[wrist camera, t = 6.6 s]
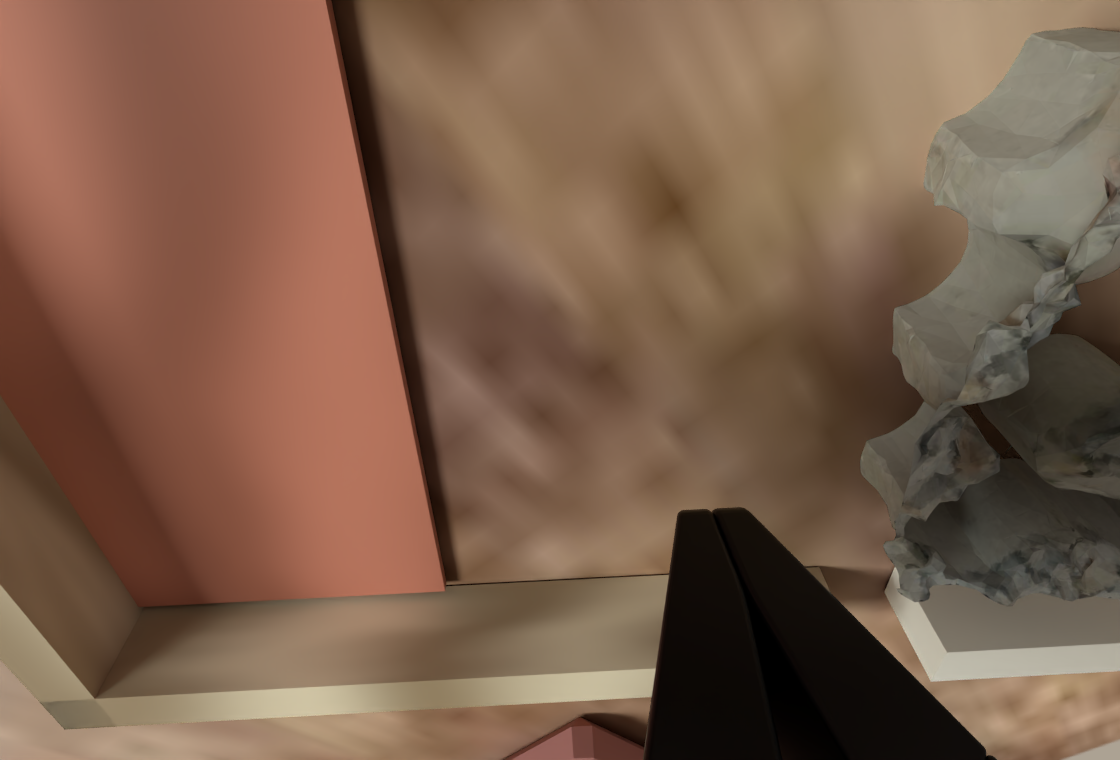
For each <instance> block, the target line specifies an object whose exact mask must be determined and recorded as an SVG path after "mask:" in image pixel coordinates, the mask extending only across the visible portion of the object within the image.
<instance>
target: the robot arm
mask: <svg viewBox="0 0 1120 760" xmlns="http://www.w3.org/2000/svg"><path fill="white" fill-rule="evenodd" d="M643 760H997V759H996V758H995V757H993V756H991V755H988V756H986V749H985V748H984V747H983V746H982V745H981V744H980V743H979V742H978V741H977V740H976V739H975V738H974V737H973V736H972V735H971V734H970V733H969V732H968V731H967V730H966V729H965V728H964V727H963V726H962V725H961V724H960V723H959V722H958V721H957V720H956V719H955V718H954V717H953V716H952V714H951V713H950V712H949V711H948V710H947V709H946V708H945V707H944V706H943V705H942V704H941V703H940V702H939V701H938V700H937V699H936V698H935V697H934V696H933V695H932V694H931V693H930V692H929V691H928V690H927V689H926V688H925V687H924V686H923V685H922V684H921V683H920V682H919V681H918V680H917V679H916V678H915V677H914V676H913V675H912V674H911V673H910V672H909V671H908V670H907V669H906V668H905V667H904V666H903V665H902V664H901V663H900V662H899V661H898V660H897V659H896V658H895V657H894V656H893V655H892V654H891V653H890V652H889V651H888V650H887V649H886V648H885V647H884V646H883V645H882V644H881V643H880V642H879V641H878V640H877V639H876V638H875V637H874V636H873V635H872V634H871V633H870V632H869V631H868V630H867V629H866V628H865V627H864V626H863V625H862V624H861V623H860V622H859V621H858V620H857V619H856V618H855V617H854V616H853V615H852V614H851V613H850V612H849V611H848V610H847V609H846V608H845V607H844V606H843V605H842V604H841V603H840V602H839V601H838V600H837V599H836V598H835V597H834V596H833V595H832V594H831V593H830V592H829V591H828V590H827V589H826V588H825V587H824V586H823V585H822V584H821V583H820V582H819V581H818V580H817V579H816V578H815V577H814V576H813V575H812V574H811V573H810V572H809V571H808V570H807V569H806V568H805V567H804V566H803V565H802V564H801V563H800V562H799V561H798V560H797V559H796V558H795V557H794V556H793V555H792V554H791V553H790V552H789V551H788V550H787V549H786V548H785V547H784V546H783V545H782V544H781V543H780V542H779V541H778V540H777V539H776V538H775V537H774V536H773V535H772V534H771V533H770V532H769V531H768V530H767V529H766V528H765V527H764V526H763V525H762V524H761V523H760V522H759V521H758V520H757V519H756V518H755V517H754V516H753V515H752V514H751V513H750V512H749V511H748V510H746V509H745V508H741V507H737V508H717V509H714V510H713V511H712V512H711V511H709V510H708V509H697V510H682V511H680V512H679V513H678V515H677V522H676V529H675V536H674V543H673V550H672V557H671V564H670V571H669V578H668V585H667V592H666V599H665V606H664V613H663V620H662V627H661V634H660V641H659V649H658V656H657V663H656V670H655V677H654V684H653V691H652V698H651V705H650V712H649V719H648V726H647V733H646V740H645V747H644V754H643Z"/></svg>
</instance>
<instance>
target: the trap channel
mask: <svg viewBox="0 0 1120 760" xmlns="http://www.w3.org/2000/svg"><path fill="white" fill-rule="evenodd" d="M806 569H807V570H808V571H809V572H810V573H811V574H812V575H813V576H814V577H815V578H816V579H817V580H818V581H819V582H820V583H821V584H822V585H823V586H824V587H825V588H826V589H827V590H828V591H829V592H830V590H829V588H828V586H827V583H826V581H825V579H824V577H823V574H822V572H821V570H820V568H819V567H811V568H806ZM668 578H669V575H656V576H636V577H617V578H598V579H578V580H559V581H539V582H520V583H500V584H481V585H462V586H446V577H445V572H444V567H443V562H442V557H441V552H440V547H439V542H438V537H437V532H436V527H435V521H434V516H433V511H432V506H431V501H430V496H429V491H428V486H427V481H426V476H425V471H424V466H423V461H422V456H421V451H420V446H419V441H418V436H417V431H416V425H415V420H414V415H413V410H412V405H411V400H410V395H409V390H408V385H407V380H406V375H405V370H404V365H403V360H402V355H401V350H400V345H399V340H398V335H397V330H396V324H395V319H394V314H393V309H392V304H391V299H390V294H389V289H388V284H387V279H386V274H385V269H384V264H383V259H382V254H381V249H380V244H379V239H378V234H377V228H376V223H375V218H374V213H373V208H372V203H371V198H370V193H369V188H368V183H367V178H366V173H365V168H364V163H363V158H362V153H361V148H360V143H359V138H358V132H357V127H356V122H355V117H354V112H353V107H352V102H351V97H350V92H349V87H348V82H347V77H346V72H345V67H344V62H343V57H342V52H341V47H340V42H339V37H338V31H337V26H336V21H335V16H334V11H333V6H332V1H331V0H0V660H1V661H2V662H3V663H4V664H5V665H6V666H7V668H8V669H9V670H10V671H11V672H12V673H13V674H14V675H15V676H16V677H17V678H18V679H19V681H20V682H21V683H22V684H23V685H24V686H25V687H26V688H27V689H28V690H29V691H30V692H31V693H32V695H33V696H34V697H35V698H36V699H37V700H38V701H39V702H40V703H41V704H42V705H43V706H44V708H45V709H46V710H47V711H48V712H49V713H50V714H51V715H52V716H53V717H54V718H55V719H56V721H57V722H58V723H59V724H60V725H61V726H62V727H63V728H64V729H81V728H99V727H117V726H135V725H153V724H171V723H189V722H207V721H225V720H243V719H261V718H279V717H298V716H316V715H334V714H352V713H370V712H388V711H406V710H424V709H442V708H460V707H478V706H496V705H514V704H532V703H551V702H569V701H587V700H605V699H623V698H641V697H652V691H653V684H654V677H655V670H656V663H657V656H658V649H659V641H660V634H661V627H662V620H663V613H664V606H665V599H666V592H667V585H668ZM830 593H831V592H830Z"/></svg>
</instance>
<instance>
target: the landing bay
mask: <svg viewBox="0 0 1120 760" xmlns="http://www.w3.org/2000/svg"><path fill="white" fill-rule="evenodd" d="M896 588H900V584H899V574H898V571H897V569H896V567H895V568H894V570H893V573H892V575H891V577H890V580H889V582H888V584H887V587H886V589H885V592H884V593H885V595H886V597H887V598H888V600H889V602H890V604H891V606H892V608H893V610H894V612H895V614H896V616H897V618H898V620H899V621H900V623H901V625H902V627H903V629H904V631H905V633H906V635H907V637H908V639H909V641H910V642H911V644H912V646H913V648H914V650H915V652H916V654H917V656H918V658H919V660H920V662H921V663H922V665H923V667H924V669H925V671H926V673H927V675H928V677H929V679H930V681H948V680H966V679H984V678H1002V677H1020V676H1039V675H1057V674H1075V673H1093V672H1111V671H1120V600H1118V599H1110V598H1103V597H1096V596H1094V597H1088V598H1082V599H1076V600H1074V601H1072V602H1071V601H1068V600H1065V601H1064V600H1063V599H1062V598H1058V597H1053V596H1049V595H1045V594H1041V593H1032V594H1029V595H1027V596H1024V597H1022V598H1019V599H1017V601H1016V602H1015V603H1014V605H1013V606H1004V605H1001V604H998V603H996V602H994V601H992V600H991V599H989V598H987V597H986V596H985V595H983V594H982V593H980V592H979V591H978V590H975V589H971V588H967V587H963V586H959V585H935V586H932V587H931V588H930V589H929V591H930V597H929V599H928V600H926V601H923V602H913V601H911V600H910V599H908V598H906V597H904V596H903V595H901V594H900V593H899V592H898V591H897V589H896Z"/></svg>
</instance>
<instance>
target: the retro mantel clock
mask: <svg viewBox="0 0 1120 760" xmlns="http://www.w3.org/2000/svg"><path fill="white" fill-rule="evenodd" d="M643 754H644V747H642V746H640V745H638V744H636V743H634V742H632V741H630V740H628V739H626V738H623V737H621V736H619V735H617V734H615V733H613V732H611V731H609V730H607V729H604V728H602V727H600V726H598V725H596V724H594V723H592V722H590V721H588V720H585V719H583V718H581V717H579V718H577V719H575V720H574V721H572V722H570V723H568V724H566V725H565V726H563V727H561V728H559V729H558V730H556V731H554V732H552V733H550V734H549V735H547V736H545V737H543V738H541V739H540V740H538V741H536V742H534V743H533V744H531V745H529V746H527V747H525V748H524V749H522V750H520V751H518V752H516V753H515V754H513V755H511V756H509V757H508V758H506V759H504V760H643Z"/></svg>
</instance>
